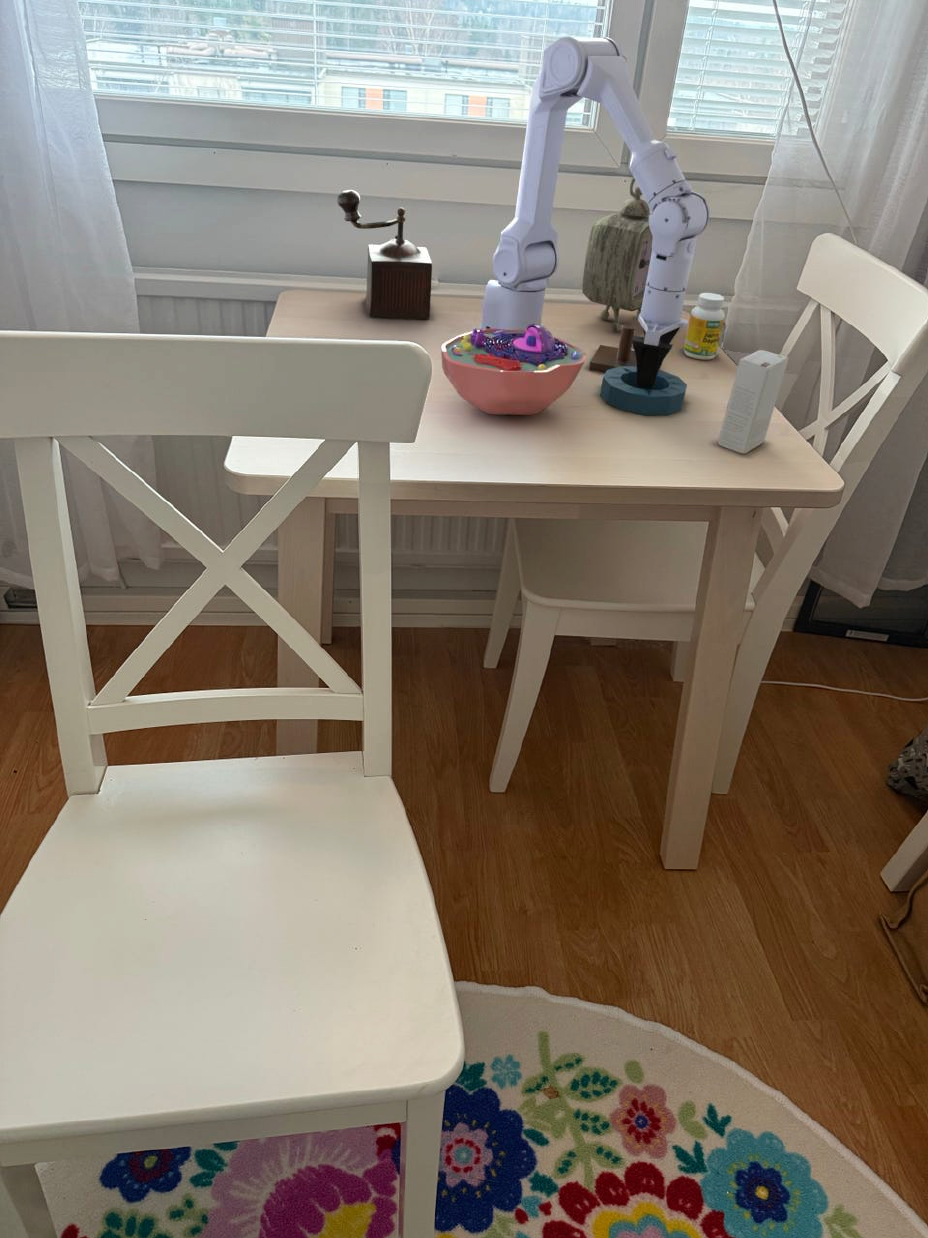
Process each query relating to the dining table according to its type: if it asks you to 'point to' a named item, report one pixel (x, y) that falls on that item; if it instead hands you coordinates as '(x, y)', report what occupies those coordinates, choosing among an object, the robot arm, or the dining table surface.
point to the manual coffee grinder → (393, 269)
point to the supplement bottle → (705, 327)
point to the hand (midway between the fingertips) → (648, 378)
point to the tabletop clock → (619, 258)
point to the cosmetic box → (752, 401)
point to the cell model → (511, 368)
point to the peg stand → (615, 353)
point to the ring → (642, 392)
